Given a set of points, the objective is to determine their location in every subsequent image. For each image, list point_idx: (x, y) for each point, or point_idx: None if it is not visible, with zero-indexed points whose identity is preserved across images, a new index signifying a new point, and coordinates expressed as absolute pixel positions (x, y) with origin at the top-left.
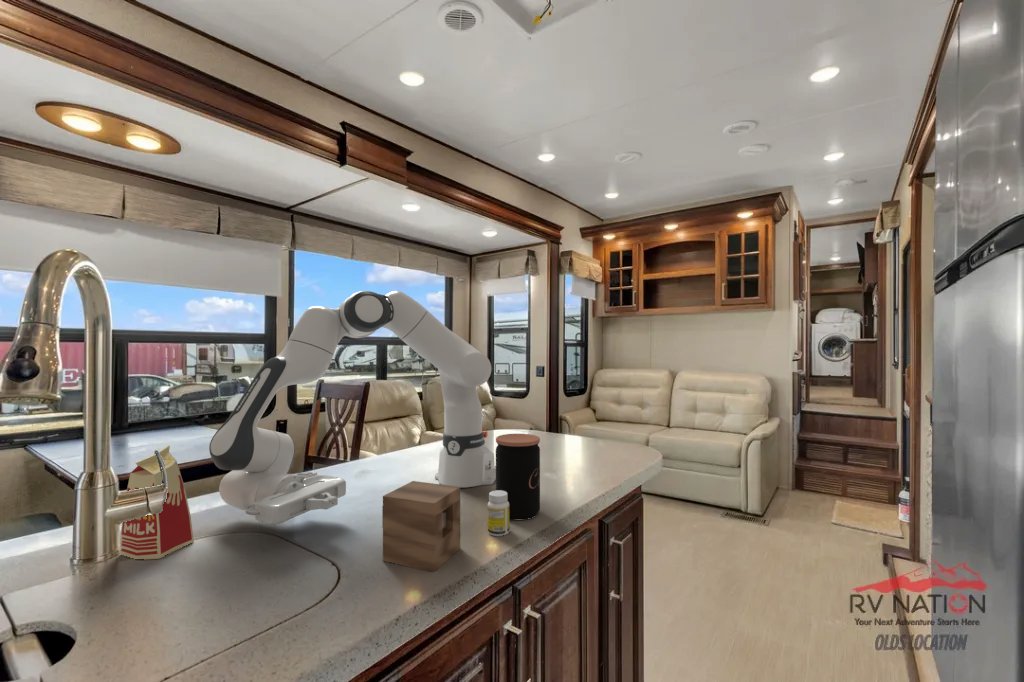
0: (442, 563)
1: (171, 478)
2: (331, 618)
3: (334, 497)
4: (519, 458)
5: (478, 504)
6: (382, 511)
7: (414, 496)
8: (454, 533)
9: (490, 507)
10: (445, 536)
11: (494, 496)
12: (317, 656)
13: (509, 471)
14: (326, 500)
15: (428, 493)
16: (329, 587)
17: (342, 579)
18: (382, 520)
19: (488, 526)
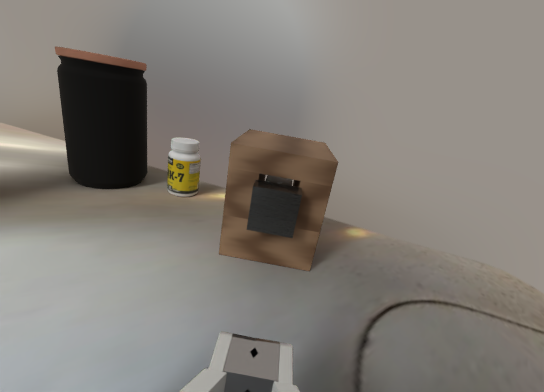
0: None
1: None
2: (449, 278)
3: (231, 336)
4: (146, 90)
5: (37, 202)
6: (299, 206)
7: (313, 147)
8: None
9: (196, 160)
10: None
11: (198, 143)
12: (484, 267)
13: (141, 112)
14: (285, 350)
15: (292, 141)
16: (418, 308)
17: (389, 301)
18: (295, 223)
19: (190, 187)
